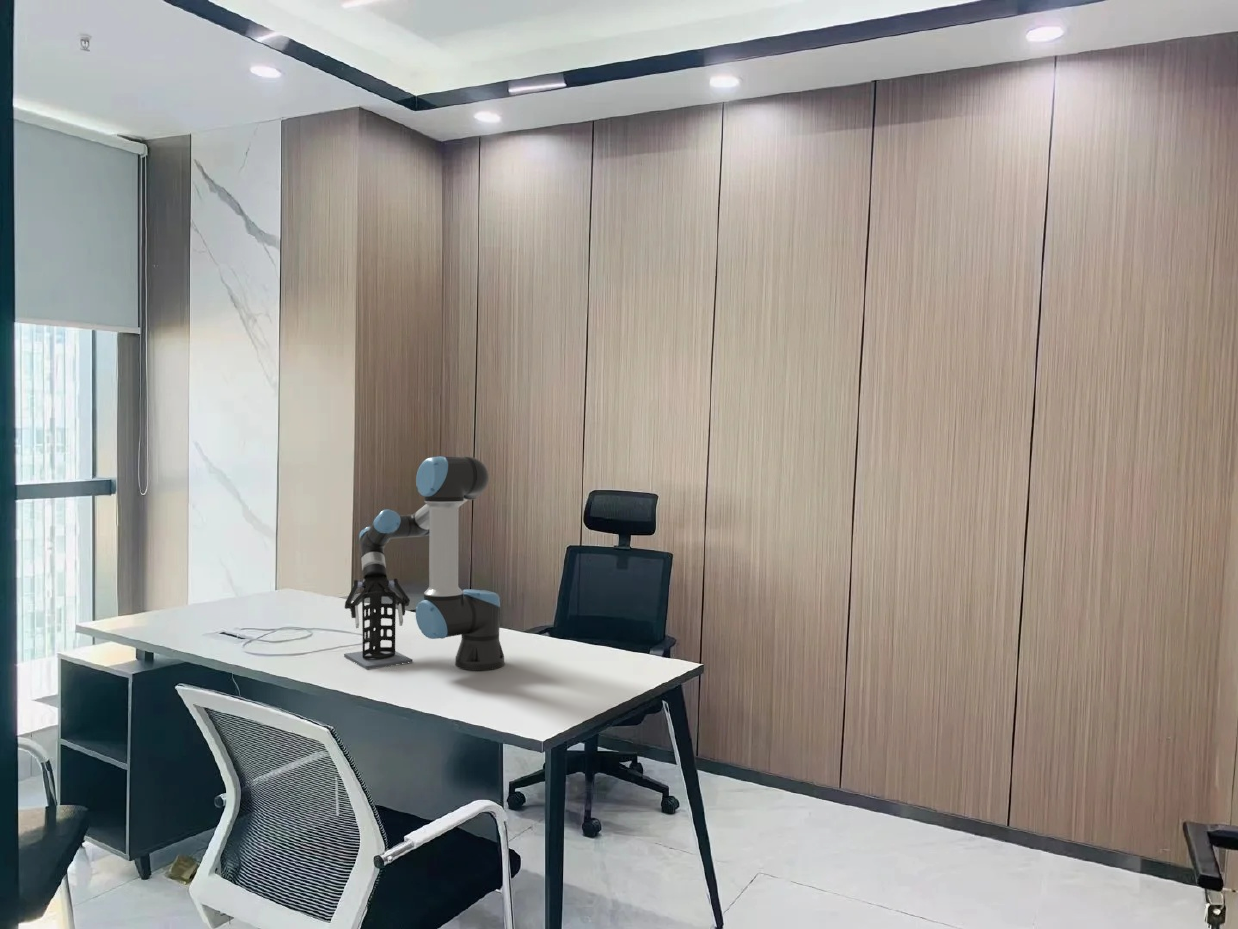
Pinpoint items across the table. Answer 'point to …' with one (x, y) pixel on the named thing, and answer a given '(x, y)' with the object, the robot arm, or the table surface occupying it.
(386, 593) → the holder
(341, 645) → the table surface
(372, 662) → the mat
